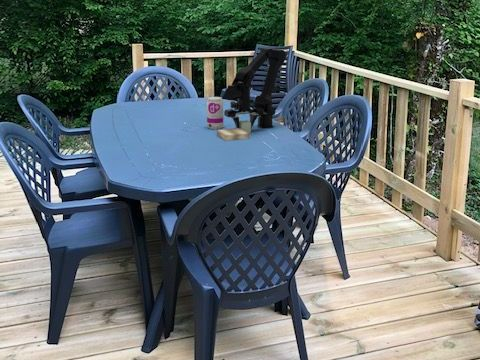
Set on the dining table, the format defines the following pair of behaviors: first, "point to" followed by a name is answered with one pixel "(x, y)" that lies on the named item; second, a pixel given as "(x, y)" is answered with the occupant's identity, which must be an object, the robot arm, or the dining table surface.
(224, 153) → the dining table surface
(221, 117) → the supplement can
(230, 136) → the base slab
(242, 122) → the cube
